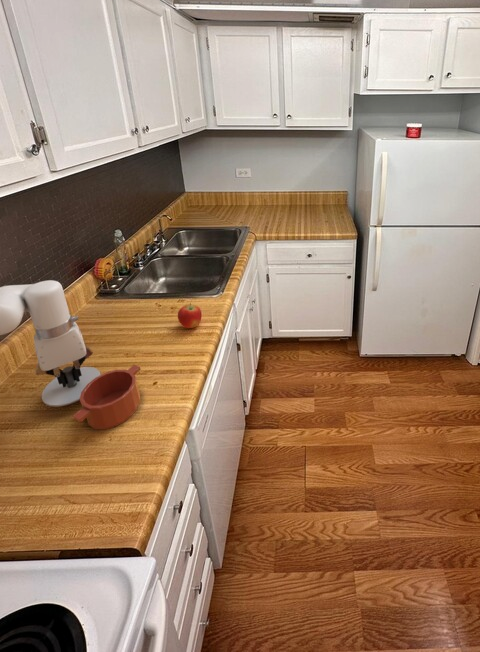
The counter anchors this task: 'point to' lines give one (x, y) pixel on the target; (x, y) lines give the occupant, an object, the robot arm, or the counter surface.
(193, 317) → the apple
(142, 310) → the counter surface
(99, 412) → the saucepan
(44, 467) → the counter surface
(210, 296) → the counter surface
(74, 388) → the pan lid
